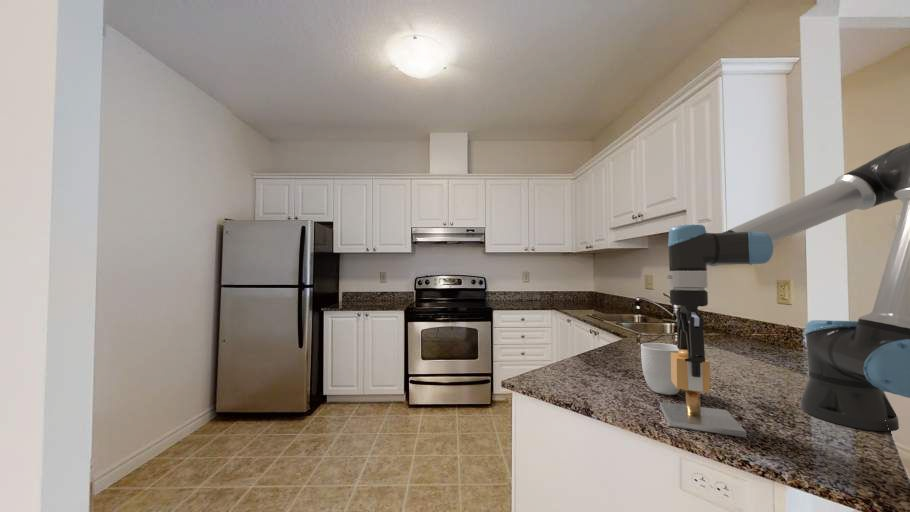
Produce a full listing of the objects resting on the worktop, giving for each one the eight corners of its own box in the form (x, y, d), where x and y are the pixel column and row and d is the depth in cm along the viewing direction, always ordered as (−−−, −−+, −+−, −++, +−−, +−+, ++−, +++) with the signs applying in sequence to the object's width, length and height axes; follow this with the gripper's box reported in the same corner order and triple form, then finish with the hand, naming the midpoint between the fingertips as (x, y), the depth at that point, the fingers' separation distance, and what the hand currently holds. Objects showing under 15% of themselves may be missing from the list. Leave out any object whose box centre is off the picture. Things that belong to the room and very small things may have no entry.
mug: (706, 394, 95) (704, 348, 96) (698, 405, 87) (696, 355, 88) (648, 382, 106) (647, 341, 106) (637, 391, 98) (635, 346, 99)
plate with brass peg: (726, 414, 81) (724, 387, 82) (746, 437, 70) (745, 405, 71) (660, 406, 87) (659, 380, 87) (669, 426, 76) (668, 396, 76)
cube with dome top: (701, 384, 81) (701, 350, 82) (710, 392, 75) (709, 356, 76) (671, 380, 84) (670, 347, 84) (676, 388, 78) (676, 353, 78)
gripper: (662, 286, 91) (665, 372, 90) (679, 290, 73) (682, 397, 72) (695, 287, 88) (698, 375, 87) (721, 291, 70) (725, 402, 69)
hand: (691, 385), depth 79 cm, fingers closed on cube with dome top, 6 cm apart
